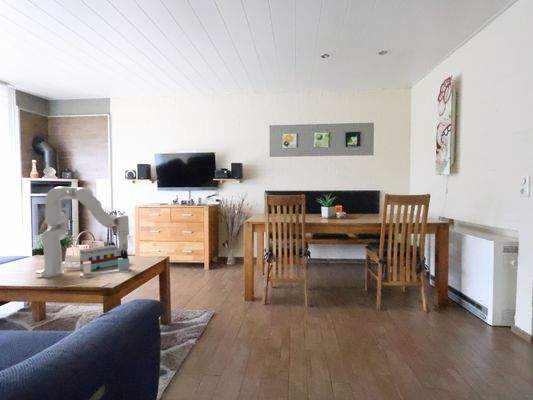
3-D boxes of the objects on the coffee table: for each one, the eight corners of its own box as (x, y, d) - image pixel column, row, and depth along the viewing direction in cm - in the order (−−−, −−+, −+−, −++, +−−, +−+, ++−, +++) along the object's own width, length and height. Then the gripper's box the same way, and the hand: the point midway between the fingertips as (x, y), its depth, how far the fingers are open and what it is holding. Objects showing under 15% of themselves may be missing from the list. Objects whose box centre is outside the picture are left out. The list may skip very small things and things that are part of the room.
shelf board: (80, 279, 193) (80, 276, 193) (79, 275, 203) (79, 272, 203) (131, 272, 209) (131, 269, 209) (128, 268, 219) (128, 266, 218)
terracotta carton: (83, 276, 196) (82, 264, 196) (83, 274, 202) (82, 262, 202) (91, 275, 199) (91, 263, 199) (90, 273, 204) (90, 261, 204)
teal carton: (129, 269, 212) (129, 258, 212) (118, 271, 209) (118, 259, 208) (128, 268, 216) (128, 257, 216) (118, 269, 212) (117, 258, 212)
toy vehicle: (127, 264, 233) (127, 244, 233) (85, 272, 209) (84, 251, 209) (122, 262, 238) (122, 243, 238) (80, 270, 214) (79, 249, 214)
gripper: (115, 232, 217) (116, 256, 217) (118, 235, 202) (119, 260, 203) (127, 231, 221) (128, 254, 221) (130, 233, 206) (132, 258, 207)
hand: (124, 257), depth 212 cm, fingers open, 9 cm apart
